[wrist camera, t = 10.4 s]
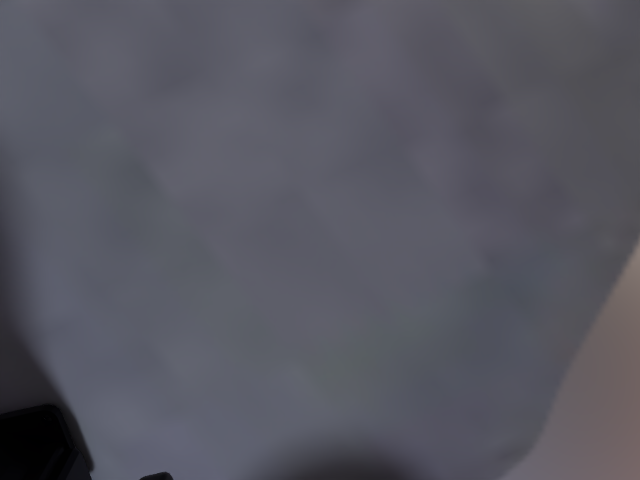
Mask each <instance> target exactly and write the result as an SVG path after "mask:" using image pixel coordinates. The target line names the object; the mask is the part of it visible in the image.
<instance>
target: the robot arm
mask: <svg viewBox="0 0 640 480" xmlns="http://www.w3.org/2000/svg"><path fill="white" fill-rule="evenodd" d="M43 416H49V417H50V418H51V419H52V420H46V419H44V417H43ZM0 480H92V479H91V476H90V474H89V471H88V469H87V466H86V463H85V461H84V458H83V456H82V453H81V452H80V451H79V450H78V449H77V448H75V445H74V443H73V440H72V438H71V435H70V433H69V430H68V427H67V425H66V422H65V420H64V417H63V415H62V412H61V411H60V409H59V408H57V407H56V406H54V405H50V404H48V405H41V406H37V407H32V408H28V409H23V410H19V411H15V412H10V413H6V414H1V415H0ZM140 480H173V478H172V476H171V475H170V474H169V473H167V472H162V473H157V474H153V475H148V476H145V477H142V478H141V479H140Z"/></svg>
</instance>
